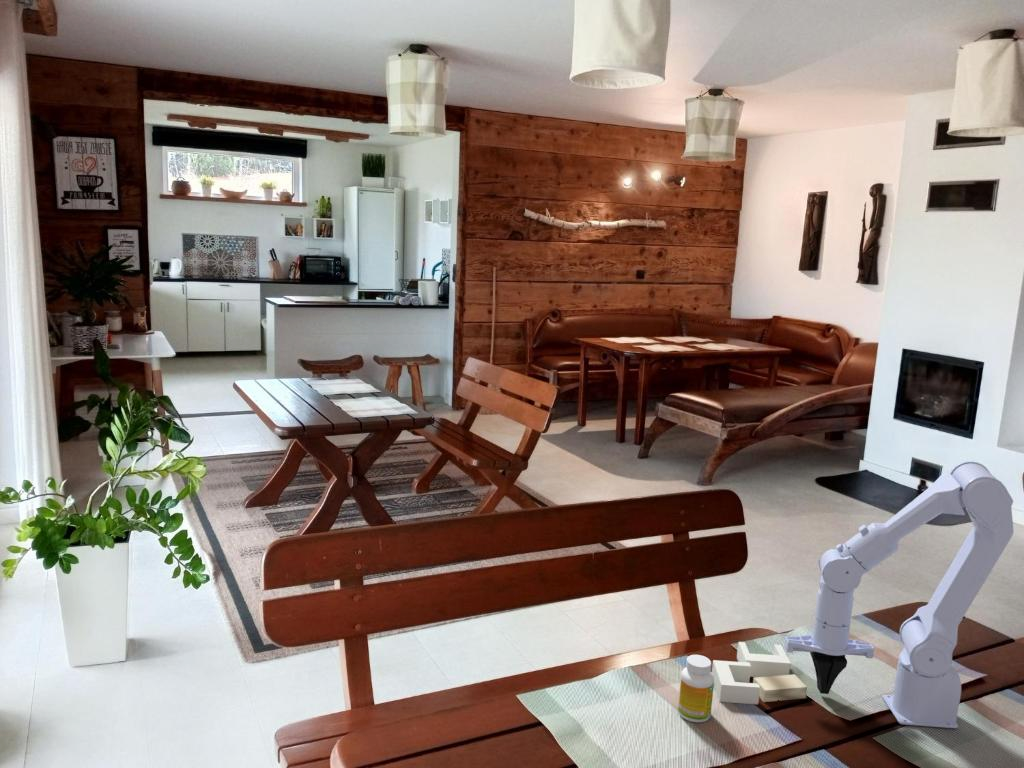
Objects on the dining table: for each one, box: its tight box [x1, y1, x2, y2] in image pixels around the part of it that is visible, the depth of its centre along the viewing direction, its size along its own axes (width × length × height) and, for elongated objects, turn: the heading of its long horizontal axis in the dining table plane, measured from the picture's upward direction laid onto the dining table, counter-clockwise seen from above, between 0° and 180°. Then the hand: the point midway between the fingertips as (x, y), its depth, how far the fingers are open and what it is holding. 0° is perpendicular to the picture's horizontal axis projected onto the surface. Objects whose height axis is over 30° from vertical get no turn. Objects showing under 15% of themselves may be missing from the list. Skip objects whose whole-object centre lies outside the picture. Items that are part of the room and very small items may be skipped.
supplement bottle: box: [677, 654, 715, 723], centre depth 134 cm, size 5×5×10 cm
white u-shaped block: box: [736, 641, 791, 678], centre depth 149 cm, size 6×8×3 cm
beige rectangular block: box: [752, 673, 808, 703], centre depth 142 cm, size 8×4×2 cm, turn 102°
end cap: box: [711, 659, 760, 705], centre depth 142 cm, size 6×8×3 cm
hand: (822, 690), depth 141 cm, fingers closed
